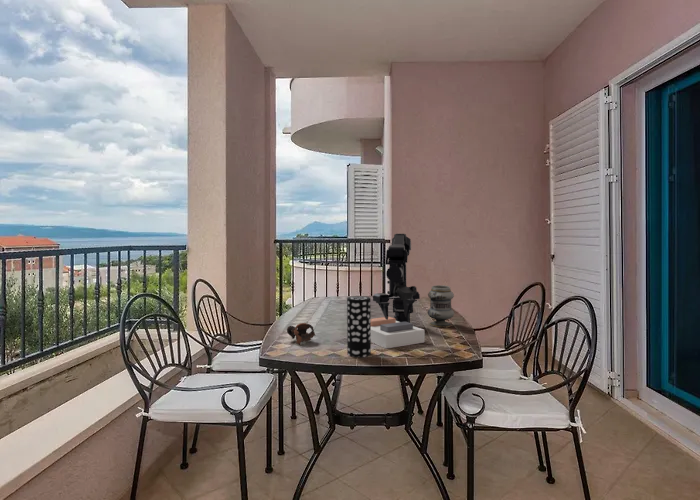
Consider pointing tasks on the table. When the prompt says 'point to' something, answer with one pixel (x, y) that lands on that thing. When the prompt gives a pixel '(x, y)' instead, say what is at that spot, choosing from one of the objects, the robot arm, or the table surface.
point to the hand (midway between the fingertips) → (396, 318)
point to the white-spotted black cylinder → (358, 326)
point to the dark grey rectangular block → (396, 326)
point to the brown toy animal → (301, 332)
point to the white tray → (396, 337)
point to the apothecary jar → (440, 305)
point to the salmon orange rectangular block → (382, 321)
